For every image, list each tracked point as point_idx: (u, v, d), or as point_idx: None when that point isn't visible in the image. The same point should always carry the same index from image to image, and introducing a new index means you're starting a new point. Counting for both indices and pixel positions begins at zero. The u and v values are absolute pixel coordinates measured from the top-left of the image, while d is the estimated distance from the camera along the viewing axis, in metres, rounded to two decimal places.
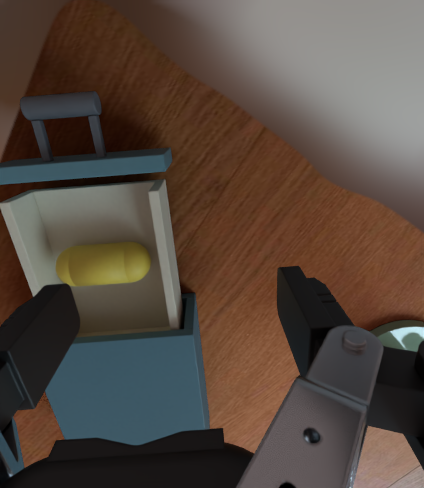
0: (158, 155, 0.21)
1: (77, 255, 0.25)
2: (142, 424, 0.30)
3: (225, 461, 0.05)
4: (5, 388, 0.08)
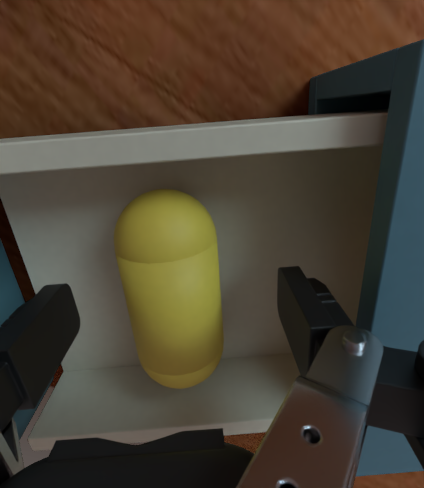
0: None
1: (138, 348, 0.11)
2: None
3: (225, 461, 0.05)
4: (5, 388, 0.08)
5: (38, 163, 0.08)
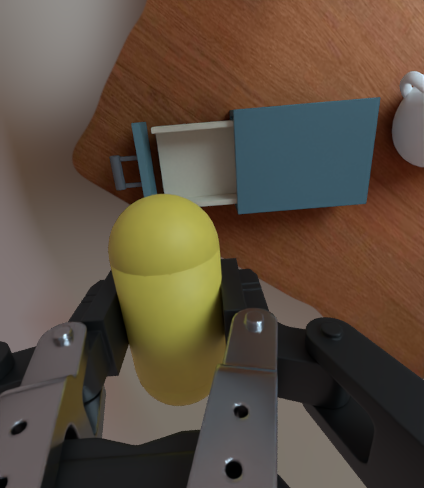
0: (132, 126, 0.41)
1: None
2: (313, 151, 0.42)
3: None
4: (100, 354, 0.09)
5: (177, 129, 0.42)
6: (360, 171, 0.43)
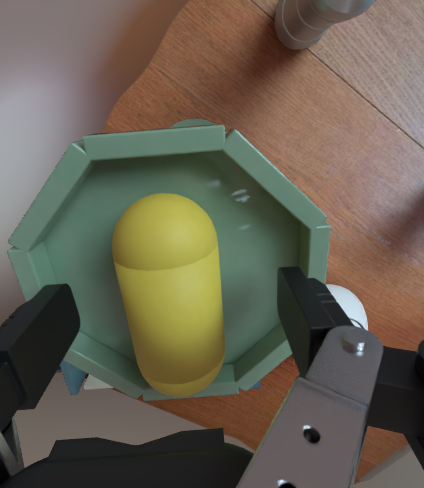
0: None
1: None
2: None
3: (225, 461, 0.05)
4: (5, 388, 0.08)
5: None
6: None
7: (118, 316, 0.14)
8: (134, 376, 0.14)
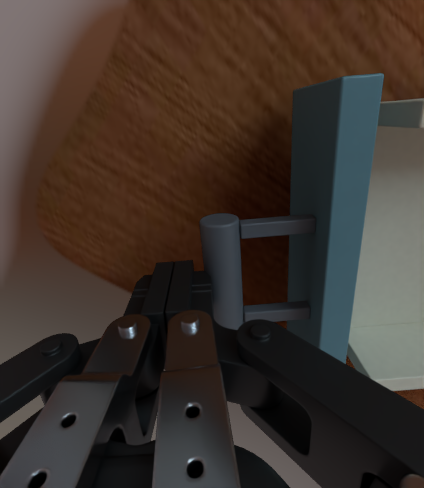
0: (341, 91, 0.08)
1: None
2: None
3: None
4: (159, 346, 0.09)
5: None
6: None
7: None
8: None
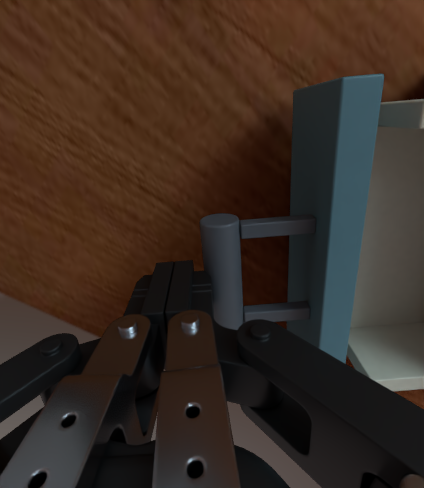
0: (342, 91, 0.08)
1: None
2: None
3: None
4: (159, 346, 0.09)
5: None
6: None
7: None
8: None
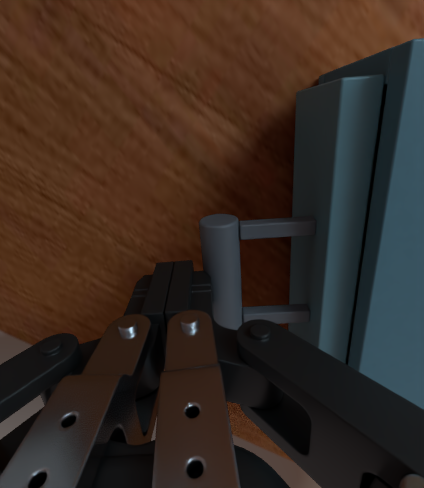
0: (341, 92, 0.08)
1: None
2: None
3: None
4: (160, 346, 0.09)
5: None
6: None
7: None
8: None
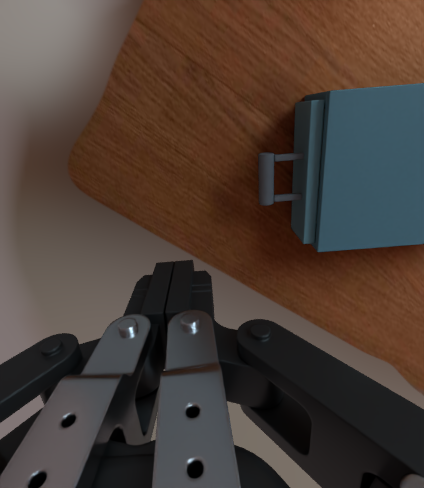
0: (311, 105, 0.26)
1: None
2: None
3: None
4: (159, 346, 0.09)
5: None
6: None
7: None
8: None
